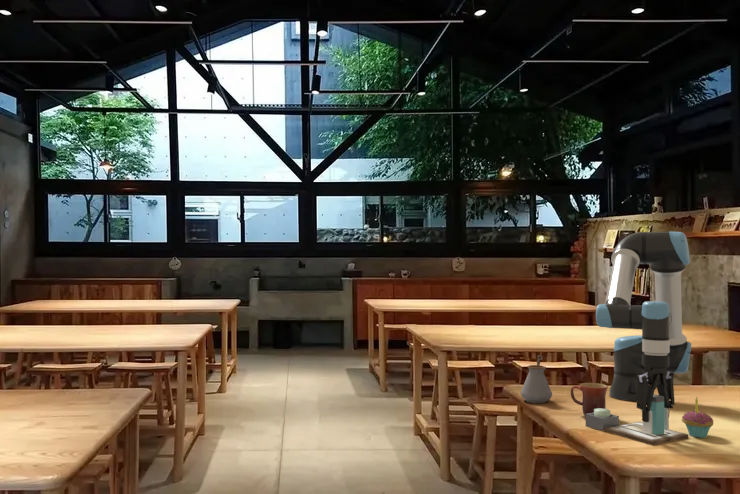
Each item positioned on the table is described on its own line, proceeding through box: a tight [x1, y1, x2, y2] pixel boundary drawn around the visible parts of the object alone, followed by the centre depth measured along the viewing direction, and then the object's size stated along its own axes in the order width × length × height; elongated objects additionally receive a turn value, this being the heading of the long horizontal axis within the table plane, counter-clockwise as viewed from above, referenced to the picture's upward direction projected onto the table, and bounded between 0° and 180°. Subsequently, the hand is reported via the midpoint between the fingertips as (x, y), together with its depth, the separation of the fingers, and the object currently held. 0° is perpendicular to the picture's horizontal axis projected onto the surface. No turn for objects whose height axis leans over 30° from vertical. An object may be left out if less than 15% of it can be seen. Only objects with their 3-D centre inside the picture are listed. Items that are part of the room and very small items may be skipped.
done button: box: [594, 408, 611, 418], centre depth 206 cm, size 5×5×4 cm
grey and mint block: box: [650, 393, 664, 435], centre depth 194 cm, size 3×3×11 cm
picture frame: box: [604, 421, 689, 446], centre depth 197 cm, size 16×17×1 cm
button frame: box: [585, 413, 620, 432], centre depth 206 cm, size 7×7×4 cm
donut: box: [681, 396, 714, 439], centre depth 197 cm, size 9×8×12 cm
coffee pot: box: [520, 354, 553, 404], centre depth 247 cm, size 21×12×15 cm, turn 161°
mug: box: [570, 382, 608, 417], centre depth 221 cm, size 12×9×10 cm
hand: (655, 430), depth 194 cm, fingers open, 7 cm apart
